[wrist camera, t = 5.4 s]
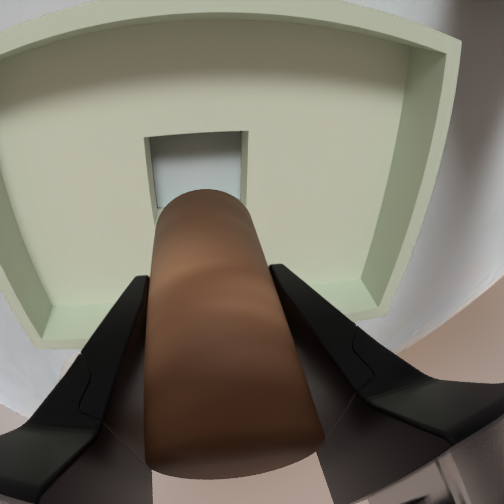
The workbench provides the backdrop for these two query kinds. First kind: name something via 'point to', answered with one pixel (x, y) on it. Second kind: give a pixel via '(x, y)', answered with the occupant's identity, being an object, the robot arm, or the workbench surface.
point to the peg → (219, 350)
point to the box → (215, 120)
